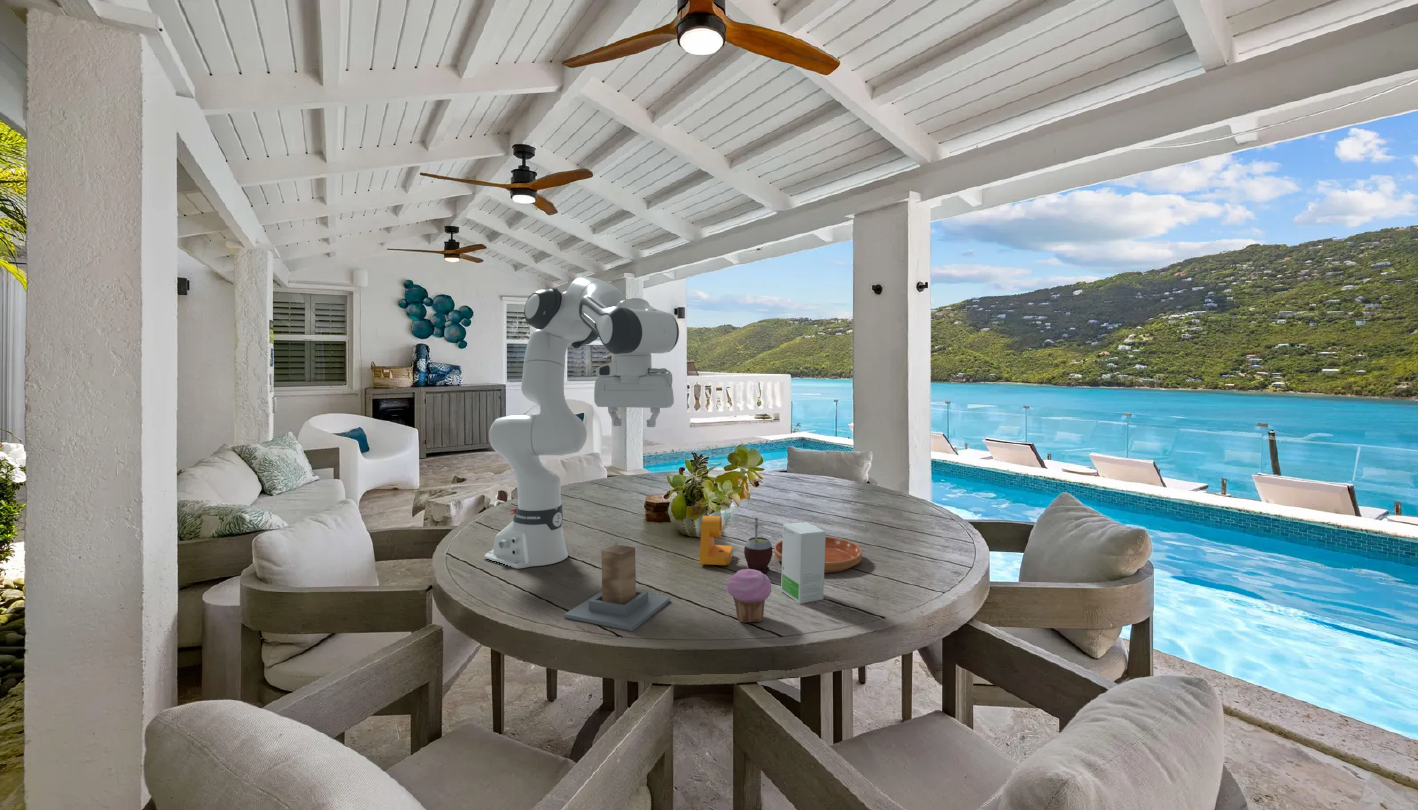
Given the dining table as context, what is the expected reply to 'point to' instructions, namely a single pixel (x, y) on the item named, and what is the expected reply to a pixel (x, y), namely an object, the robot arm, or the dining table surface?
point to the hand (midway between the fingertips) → (633, 426)
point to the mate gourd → (758, 552)
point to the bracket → (707, 547)
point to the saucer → (834, 554)
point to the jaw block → (618, 574)
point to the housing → (618, 611)
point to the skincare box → (803, 562)
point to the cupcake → (749, 594)
